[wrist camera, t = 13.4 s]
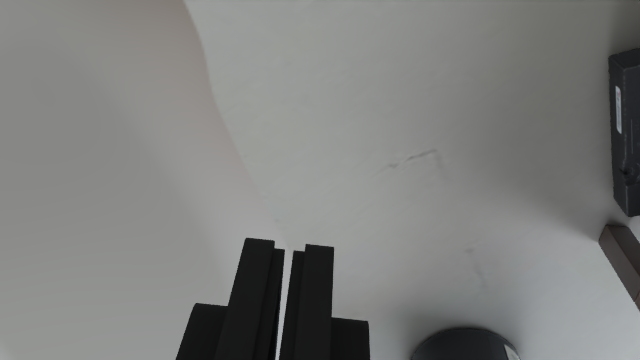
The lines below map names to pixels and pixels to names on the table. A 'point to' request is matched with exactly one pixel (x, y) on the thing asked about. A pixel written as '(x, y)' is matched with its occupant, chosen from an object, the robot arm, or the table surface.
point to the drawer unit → (623, 257)
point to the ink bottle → (466, 346)
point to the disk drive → (625, 129)
